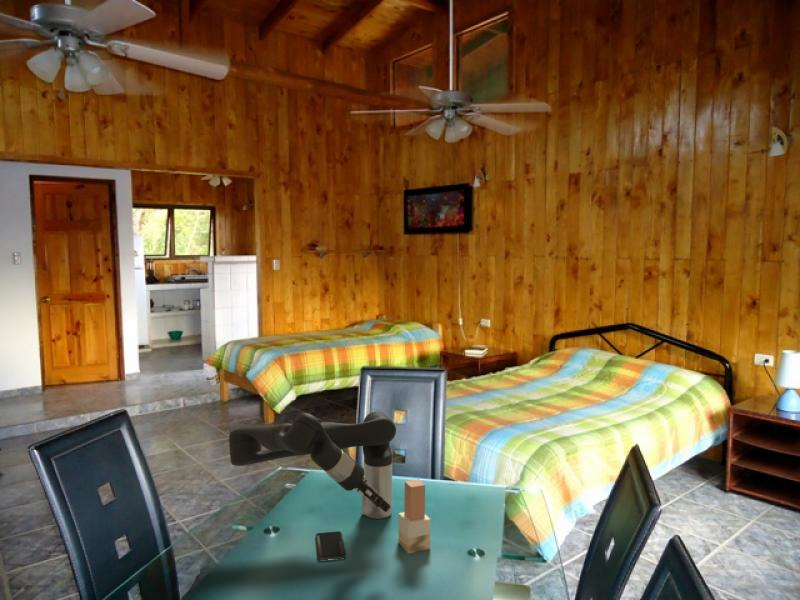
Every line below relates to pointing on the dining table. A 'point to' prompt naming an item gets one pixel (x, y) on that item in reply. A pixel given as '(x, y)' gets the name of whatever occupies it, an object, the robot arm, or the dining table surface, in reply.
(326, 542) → the phone
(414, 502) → the stack block
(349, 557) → the dining table surface
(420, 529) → the tower top
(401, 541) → the tower base
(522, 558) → the dining table surface
